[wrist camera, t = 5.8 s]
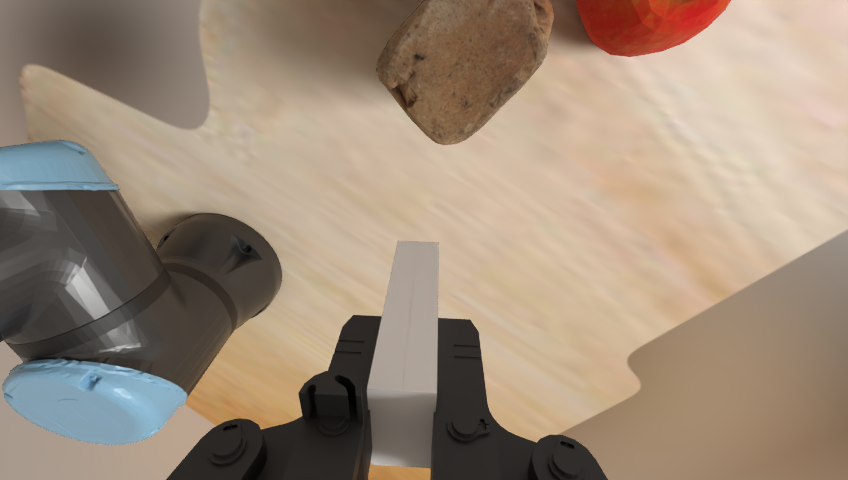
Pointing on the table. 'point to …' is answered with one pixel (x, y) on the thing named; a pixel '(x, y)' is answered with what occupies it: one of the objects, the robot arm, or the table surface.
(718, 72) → the table surface
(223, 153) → the table surface
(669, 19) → the apple
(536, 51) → the brown long irregular lump
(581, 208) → the table surface
